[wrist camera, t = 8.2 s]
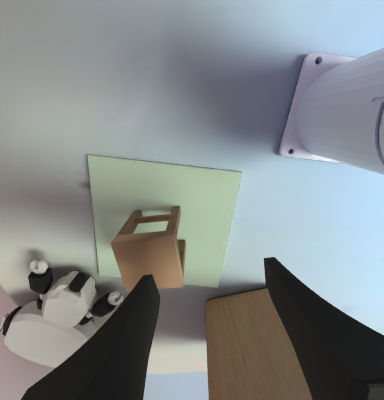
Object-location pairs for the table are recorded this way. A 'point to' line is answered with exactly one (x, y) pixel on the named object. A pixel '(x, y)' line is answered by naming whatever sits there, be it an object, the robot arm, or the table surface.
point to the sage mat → (165, 209)
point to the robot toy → (55, 316)
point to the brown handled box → (150, 251)
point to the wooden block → (250, 351)
